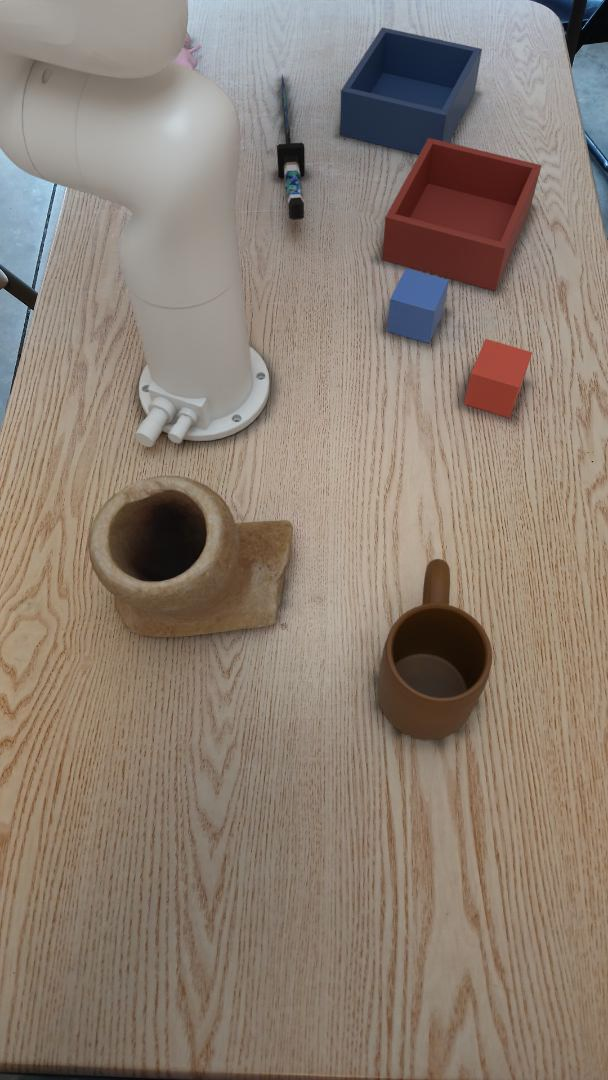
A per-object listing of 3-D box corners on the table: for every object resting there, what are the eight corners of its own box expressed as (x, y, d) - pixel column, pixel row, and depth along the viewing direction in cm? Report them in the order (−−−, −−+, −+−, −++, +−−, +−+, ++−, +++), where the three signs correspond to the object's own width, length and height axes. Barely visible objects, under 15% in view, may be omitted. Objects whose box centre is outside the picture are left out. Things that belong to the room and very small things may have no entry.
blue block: (429, 344, 83) (434, 311, 79) (386, 331, 84) (390, 298, 80) (443, 313, 85) (449, 279, 81) (401, 301, 86) (405, 267, 82)
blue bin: (440, 159, 97) (446, 115, 92) (339, 135, 100) (340, 90, 95) (474, 93, 103) (482, 48, 98) (379, 72, 106) (382, 26, 101)
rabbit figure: (156, 53, 111) (153, 104, 102) (148, 3, 106) (144, 51, 97) (202, 50, 111) (204, 100, 102) (196, -1, 106) (197, 47, 97)
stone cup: (113, 670, 67) (62, 588, 54) (120, 541, 73) (76, 440, 60) (300, 658, 67) (295, 574, 54) (293, 531, 73) (286, 427, 60)
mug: (381, 597, 70) (389, 542, 61) (472, 604, 69) (492, 550, 61) (373, 738, 64) (381, 698, 56) (473, 747, 63) (496, 708, 55)
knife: (305, 241, 89) (305, 203, 85) (277, 241, 89) (275, 203, 85) (303, 97, 107) (302, 60, 103) (279, 97, 107) (278, 61, 103)
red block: (509, 418, 79) (519, 387, 75) (463, 404, 79) (471, 372, 76) (522, 383, 81) (532, 352, 77) (477, 370, 81) (485, 338, 78)
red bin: (495, 291, 87) (505, 248, 82) (381, 259, 89) (385, 216, 84) (530, 209, 93) (541, 164, 88) (422, 181, 95) (428, 137, 90)
